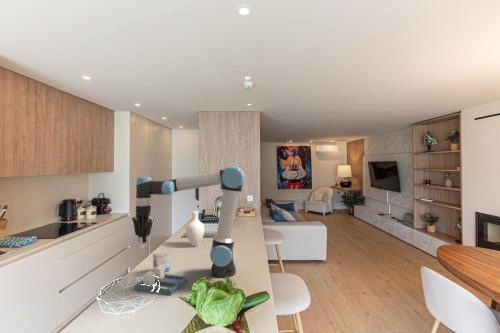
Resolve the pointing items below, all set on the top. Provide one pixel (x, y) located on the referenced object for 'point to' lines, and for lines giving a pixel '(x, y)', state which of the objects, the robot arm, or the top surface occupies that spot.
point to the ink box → (162, 260)
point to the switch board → (164, 284)
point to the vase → (195, 230)
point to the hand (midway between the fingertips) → (142, 248)
